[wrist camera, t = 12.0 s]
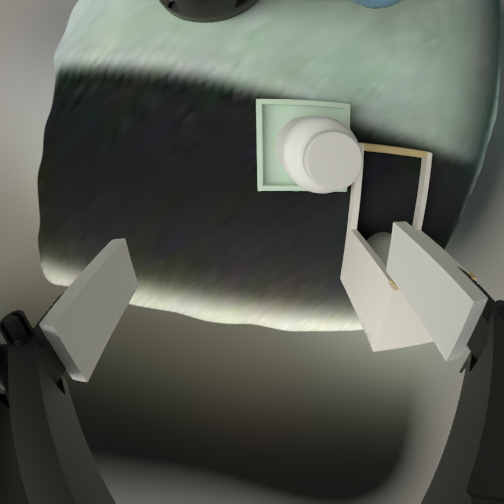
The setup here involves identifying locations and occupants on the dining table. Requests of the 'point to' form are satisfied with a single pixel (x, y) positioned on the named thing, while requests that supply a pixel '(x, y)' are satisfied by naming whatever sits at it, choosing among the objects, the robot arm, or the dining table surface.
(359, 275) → the dispenser
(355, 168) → the pill bottle
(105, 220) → the dining table surface
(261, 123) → the tray
